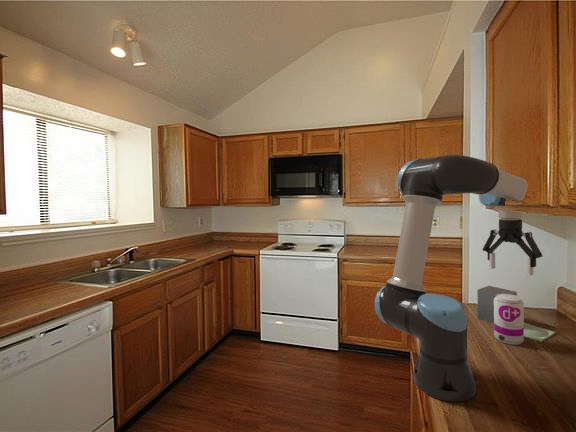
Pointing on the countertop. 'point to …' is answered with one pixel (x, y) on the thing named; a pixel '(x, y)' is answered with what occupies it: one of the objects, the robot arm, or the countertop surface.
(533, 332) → the pad
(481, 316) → the box
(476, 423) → the countertop surface
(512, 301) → the supplement can
